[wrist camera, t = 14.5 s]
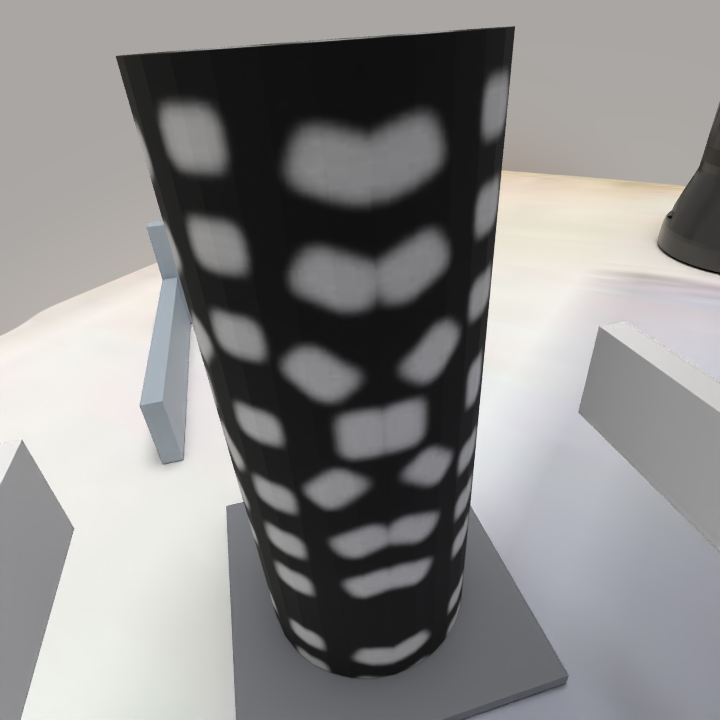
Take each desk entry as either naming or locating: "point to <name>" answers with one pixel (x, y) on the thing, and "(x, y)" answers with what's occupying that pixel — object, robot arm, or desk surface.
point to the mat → (407, 688)
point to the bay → (167, 357)
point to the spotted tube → (340, 308)
